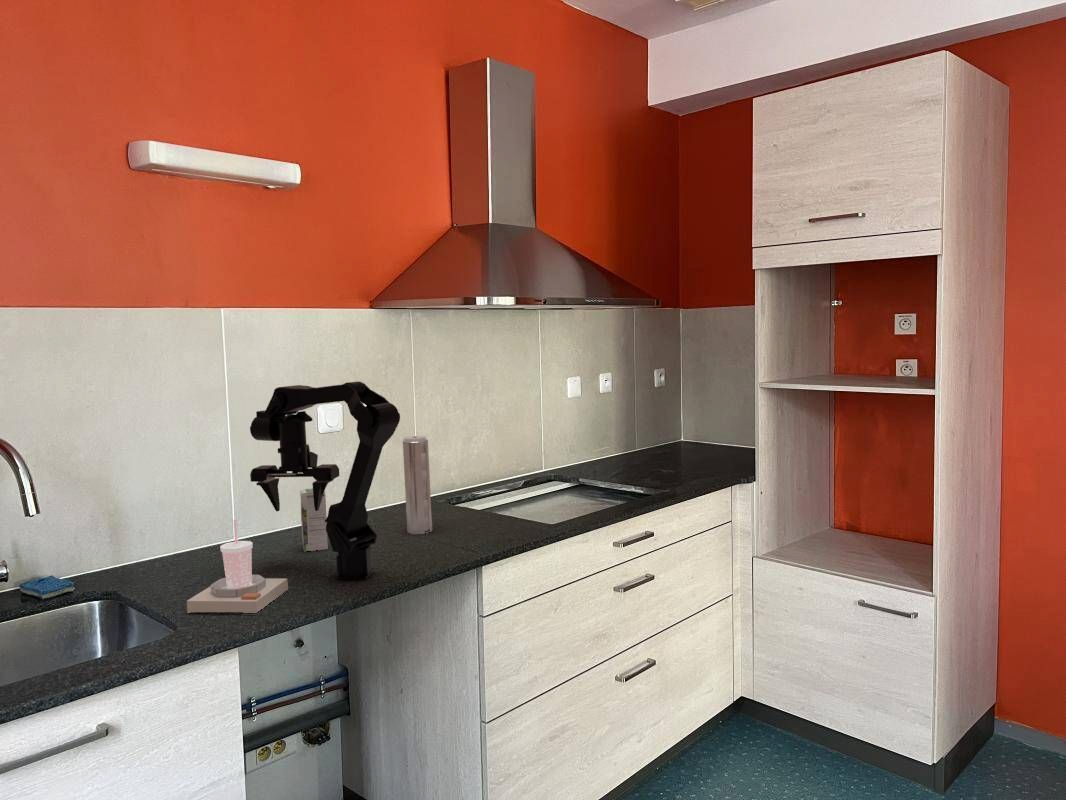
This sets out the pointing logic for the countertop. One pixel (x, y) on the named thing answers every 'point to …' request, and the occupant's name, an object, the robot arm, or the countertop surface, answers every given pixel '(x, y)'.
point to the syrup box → (313, 522)
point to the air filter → (417, 485)
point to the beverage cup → (237, 562)
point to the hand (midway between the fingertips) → (297, 510)
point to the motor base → (238, 596)
